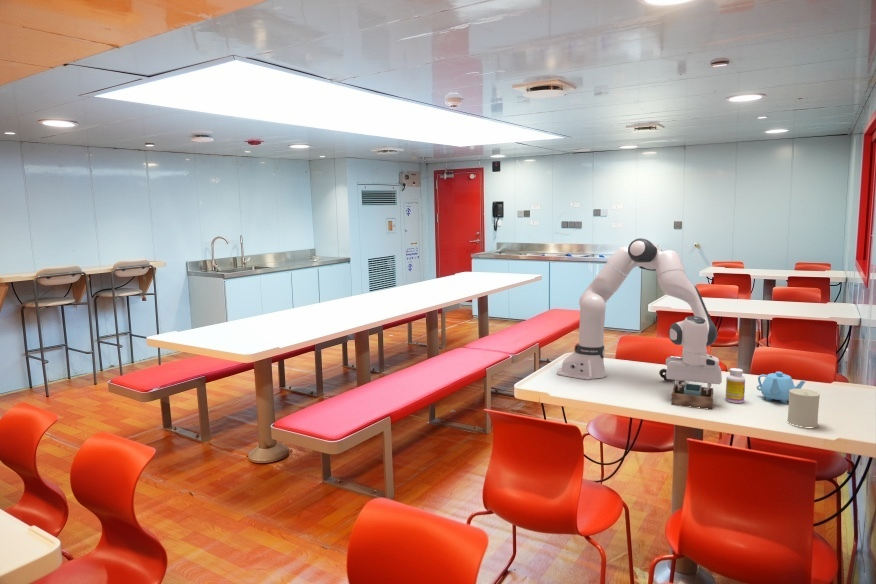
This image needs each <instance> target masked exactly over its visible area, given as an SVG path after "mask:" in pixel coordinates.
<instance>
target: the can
mask: <svg viewBox="0 0 876 584" xmlns="http://www.w3.org/2000/svg"><path fill="white" fill-rule="evenodd" d="M820 395H821V394H820V393H819V392H818V391H815V390H813V389H807V388H806V389H805V388H801V389H790V390H789V400H788V408H787V409H788V410H787V419H786V422H787V421H788V422H789V423H791V424H794V425H798V426H802V427H817V426H819V425H818V422H819V407H820ZM817 428H818V427H817Z"/></svg>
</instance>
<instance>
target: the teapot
mask: <svg viewBox="0 0 876 584" xmlns="http://www.w3.org/2000/svg"><path fill="white" fill-rule="evenodd" d="M762 377H765V378H764V379H763V381H762V382H761V378H762ZM757 381H758V384H759V385H757V386H756V389H757V391H759V392H760V391H761V395H762V396H763V397H764V398H765V399H764V400H765V401H766V400H768V402H770V401H771V402H772V400H777V401H780V404H784V403H787V404H788V402H789V390H790V389H802V387H803V386H804V384H806V381H805V380H800V382H798V384H797V385H796V386H795V384H794V380H793V378H792V376H790V375H789V374H786V373H783V371H775V373H774V372H772V373H768V374H763V373H762V374H760V375H759V376H758V377H757Z"/></svg>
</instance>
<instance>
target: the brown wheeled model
mask: <svg viewBox="0 0 876 584" xmlns="http://www.w3.org/2000/svg"><path fill="white" fill-rule="evenodd" d="M666 371H667V368H661V369H660V370H659V376H660V377H661V378H662V379H663V381H664V380H665V381H667V380H668V379H667V377H666ZM685 382H686V381H682V380H679V385H682V384H683V383H685Z"/></svg>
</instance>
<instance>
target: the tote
mask: <svg viewBox="0 0 876 584" xmlns="http://www.w3.org/2000/svg"><path fill="white" fill-rule="evenodd" d="M684 383H685V382H684ZM684 385H685V388H684V394H686V395H694V396H701V389H702V387H703V385H702V384H697V383H696V384H693V383H685V384H684Z"/></svg>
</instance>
